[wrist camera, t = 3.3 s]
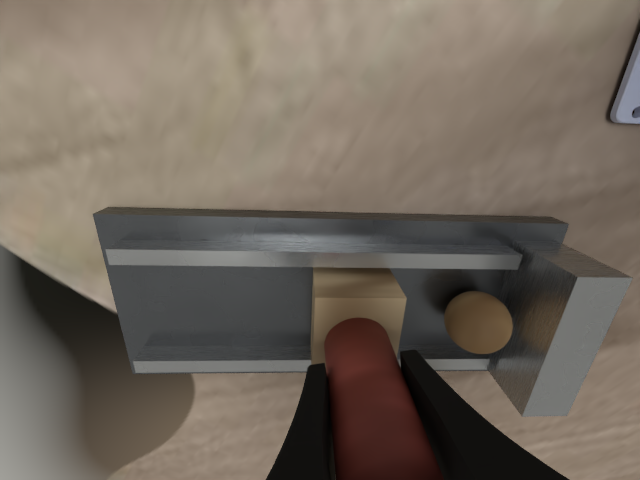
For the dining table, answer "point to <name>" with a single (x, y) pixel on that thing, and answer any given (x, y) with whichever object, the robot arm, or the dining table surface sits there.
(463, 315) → the nut
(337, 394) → the press slider
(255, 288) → the base
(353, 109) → the dining table surface
